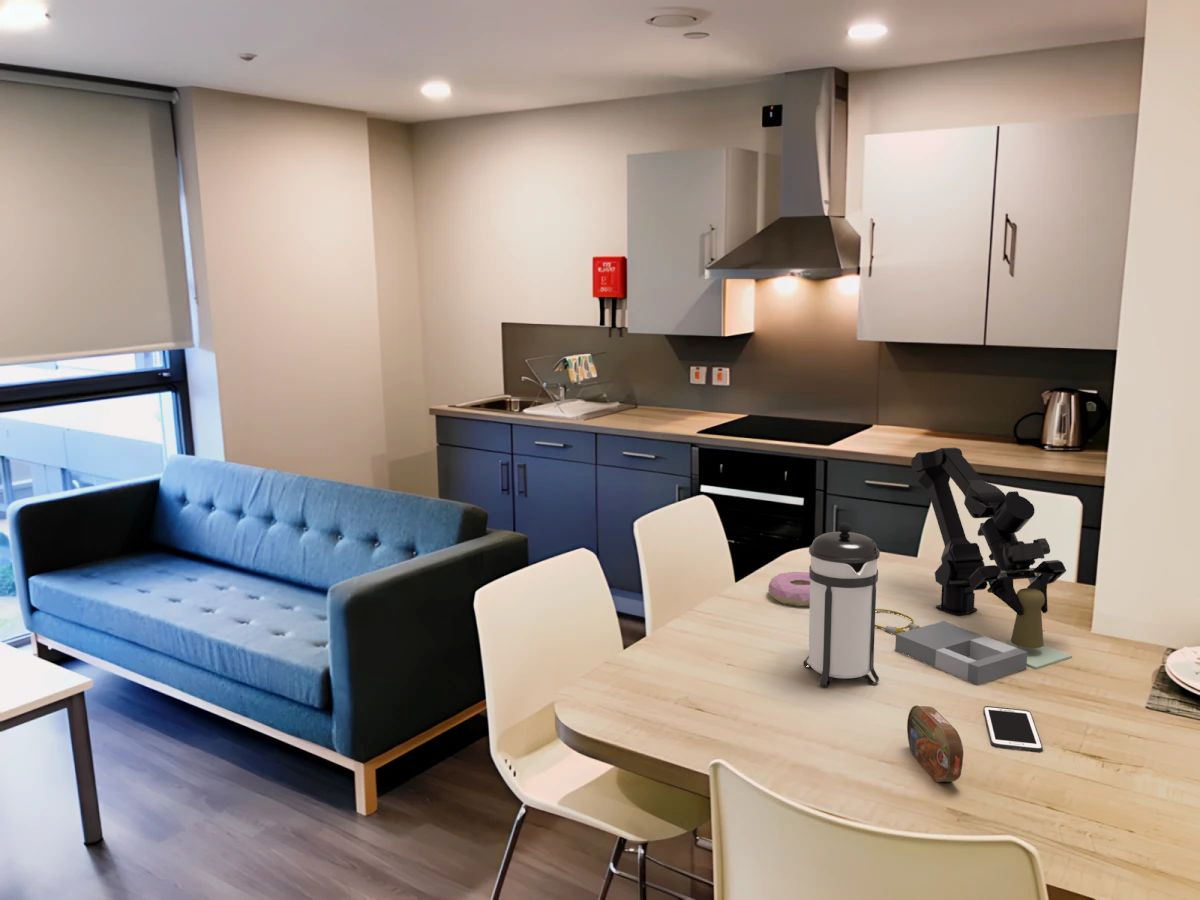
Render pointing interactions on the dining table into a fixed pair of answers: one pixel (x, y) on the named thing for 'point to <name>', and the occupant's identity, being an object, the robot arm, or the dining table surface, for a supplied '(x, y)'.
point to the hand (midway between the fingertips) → (1033, 613)
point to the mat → (1041, 655)
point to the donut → (791, 588)
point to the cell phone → (1012, 729)
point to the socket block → (961, 652)
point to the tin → (935, 743)
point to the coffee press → (842, 605)
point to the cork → (1029, 619)
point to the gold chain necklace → (894, 629)
